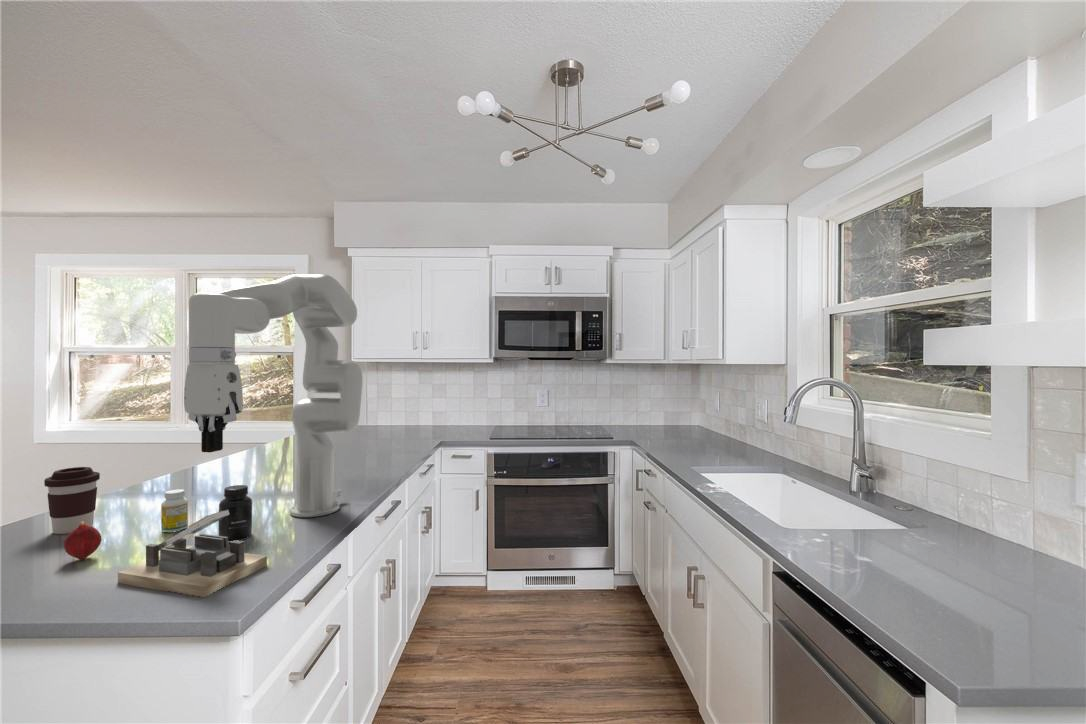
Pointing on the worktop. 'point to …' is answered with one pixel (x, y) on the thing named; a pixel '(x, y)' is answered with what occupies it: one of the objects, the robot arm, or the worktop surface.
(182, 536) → the strap
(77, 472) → the coffee cup
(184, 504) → the supplement bottle
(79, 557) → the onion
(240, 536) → the supplement bottle
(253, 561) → the heatsink base
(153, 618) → the worktop surface
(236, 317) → the robot arm
